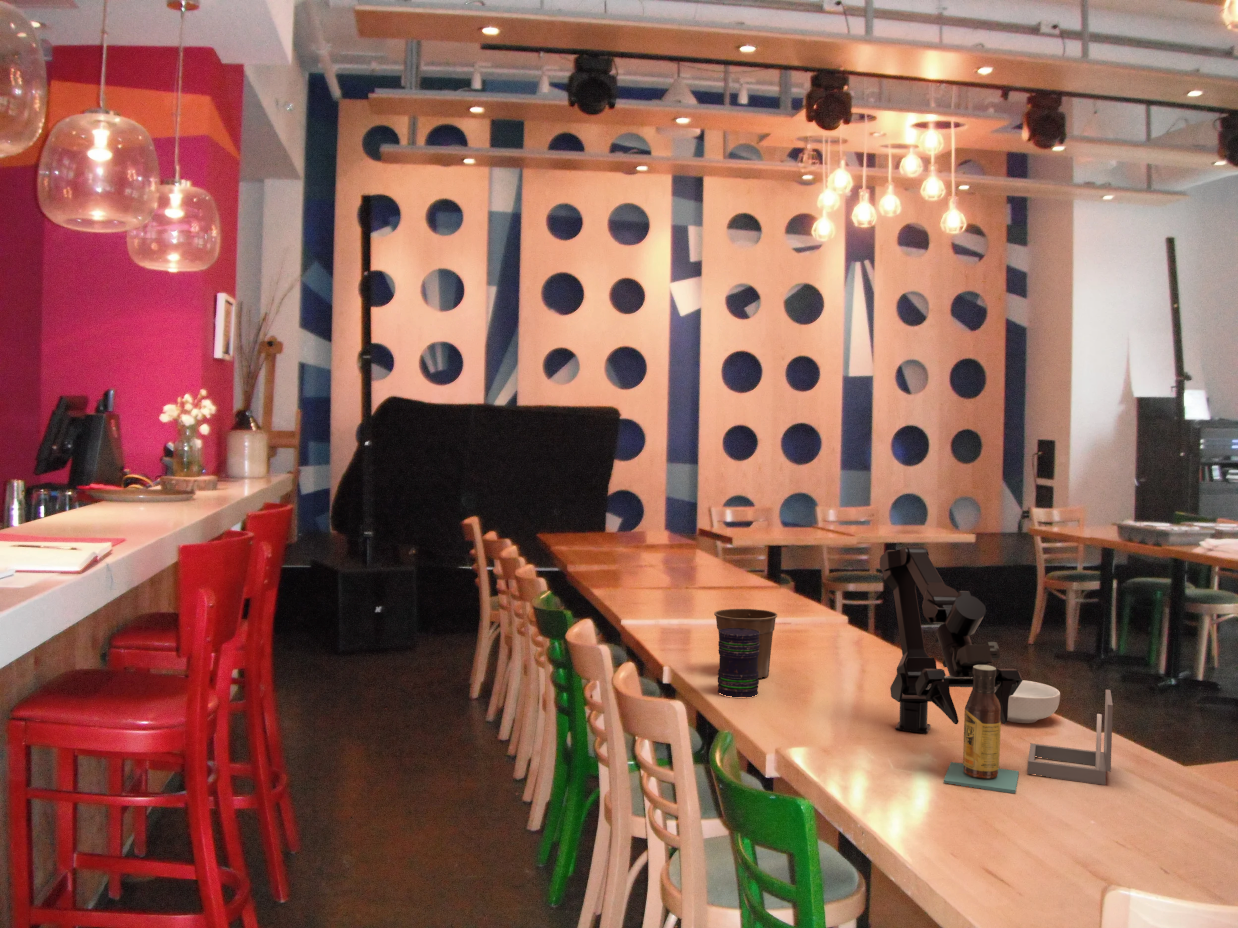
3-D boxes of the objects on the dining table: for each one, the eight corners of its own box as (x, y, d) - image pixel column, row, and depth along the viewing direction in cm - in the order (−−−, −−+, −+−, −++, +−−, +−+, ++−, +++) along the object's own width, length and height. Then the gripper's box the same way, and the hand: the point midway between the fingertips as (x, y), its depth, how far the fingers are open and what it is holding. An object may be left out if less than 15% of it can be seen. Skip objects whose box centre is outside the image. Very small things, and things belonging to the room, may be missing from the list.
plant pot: (706, 678, 266) (707, 615, 266) (720, 666, 282) (722, 606, 281) (769, 684, 261) (771, 620, 261) (780, 671, 276) (782, 610, 276)
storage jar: (753, 700, 245) (755, 636, 245) (712, 695, 248) (714, 633, 248) (762, 690, 254) (763, 629, 254) (722, 686, 257) (724, 626, 257)
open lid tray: (1030, 755, 204) (1032, 681, 204) (1107, 765, 199) (1110, 689, 199) (1027, 774, 192) (1029, 696, 192) (1110, 785, 187) (1112, 705, 187)
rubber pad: (950, 764, 197) (950, 761, 197) (1018, 774, 193) (1018, 770, 193) (943, 783, 186) (943, 780, 186) (1015, 793, 182) (1015, 790, 182)
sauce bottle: (961, 768, 194) (963, 661, 193) (996, 771, 192) (999, 663, 192) (964, 779, 187) (967, 668, 187) (1001, 782, 186) (1004, 670, 185)
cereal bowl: (964, 717, 233) (965, 685, 233) (998, 705, 245) (999, 675, 245) (1039, 733, 221) (1040, 700, 221) (1071, 720, 233) (1072, 688, 233)
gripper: (923, 625, 194) (945, 699, 183) (1019, 626, 196) (1047, 699, 185) (906, 658, 202) (926, 731, 191) (998, 658, 204) (1024, 731, 193)
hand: (981, 722), depth 190 cm, fingers open, 9 cm apart
